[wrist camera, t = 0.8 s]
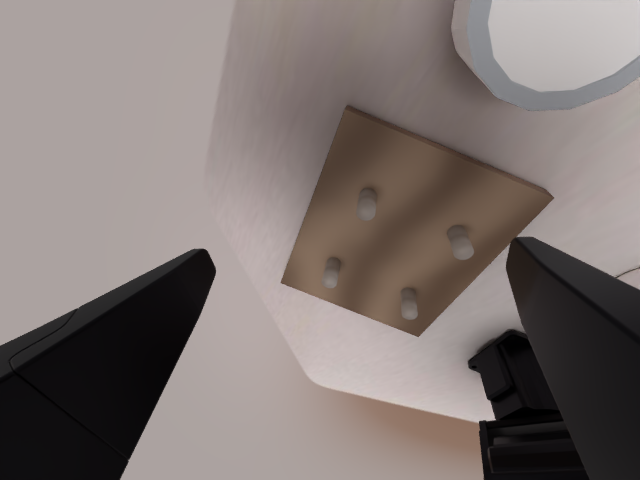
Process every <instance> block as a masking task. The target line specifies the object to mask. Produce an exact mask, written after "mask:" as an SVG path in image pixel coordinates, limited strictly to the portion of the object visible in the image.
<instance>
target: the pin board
mask: <svg viewBox="0 0 640 480" xmlns="http://www.w3.org/2000/svg"><path fill="white" fill-rule="evenodd" d="M553 199H554V197H553V196H552V195H551V194H550V193H549V192H548V191H547V190H545V189H543V188H541V187H538V186H536V185H534V184H531V183H529V182H527V181H524V180H522V179H520V178H517V177H515V176H512V175H510V174H508V173H505V172H503V171H501V170H498V169H496V168H494V167H491V166H489V165H486V164H484V163H482V162H479V161H477V160H475V159H472V158H470V157H468V156H465V155H463V154H461V153H458V152H456V151H453V150H451V149H449V148H446V147H444V146H442V145H439V144H437V143H435V142H432V141H430V140H427V139H425V138H423V137H420V136H418V135H416V134H413V133H411V132H409V131H406V130H404V129H402V128H399V127H397V126H394V125H392V124H390V123H387V122H385V121H383V120H380V119H378V118H376V117H373V116H371V115H368V114H366V113H364V112H361V111H359V110H357V109H354V108H352V107H350V106H347V107H346V108H345V110H344V113H343V116H342V118H341V121H340V124H339V127H338V129H337V132H336V135H335V137H334V140H333V143H332V145H331V148H330V151H329V153H328V156H327V159H326V162H325V164H324V167H323V170H322V172H321V175H320V178H319V180H318V183H317V186H316V189H315V191H314V194H313V197H312V199H311V202H310V205H309V207H308V210H307V213H306V216H305V218H304V221H303V224H302V226H301V229H300V232H299V234H298V237H297V240H296V243H295V245H294V248H293V251H292V253H291V256H290V259H289V261H288V264H287V267H286V270H285V272H284V275H283V278H282V280H281V283H282V284H285V285H287V286H290V287H292V288H295V289H297V290H300V291H302V292H305V293H308V294H310V295H313V296H315V297H318V298H320V299H323V300H325V301H328V302H330V303H333V304H336V305H338V306H341V307H343V308H346V309H348V310H351V311H353V312H356V313H358V314H361V315H364V316H366V317H369V318H371V319H374V320H376V321H379V322H381V323H384V324H386V325H389V326H392V327H394V328H397V329H399V330H402V331H404V332H407V333H409V334H412V335H414V336H417V337H419V336H420V335H421V334H422V333H423V332H424V331H425V330H426V329H427V328H428V327H429V325H430V324H431V323H432V322H433V321H434V320H435V319H436V318H437V317H438V316H439V315H440V314H441V313H442V312H443V311H444V310H445V309H446V308H447V307H448V306H449V305H450V304H451V303H452V302H453V301H454V300H455V299H456V298H457V297H458V296H459V295H460V294H461V293H462V292H463V291H464V290H465V289H466V288H467V287H468V286H469V285H470V284H471V283H472V282H473V280H474V279H475V278H476V277H477V276H478V275H479V274H480V273H481V272H482V271H483V270H484V269H485V268H486V267H487V266H488V265H489V264H490V263H491V262H492V261H493V260H494V259H495V258H496V257H497V256H498V255H499V254H500V253H501V252H502V251H503V250H504V249H505V248H506V247H507V246H508V245H509V244H510V243H511V241H512V239H513V238H515V237H517V235H518V234H519V233H520V232H521V231H522V230H523V229H524V228H525V227H526V226H527V225H528V224H529V223H530V222H531V221H532V220H533V219H534V218H535V217H536V216H537V215H538V214H539V213H540V212H541V211H542V210H543V209H544V208H545V207H546V206H547V205H548V204H549V203H550V202H551V201H552V200H553Z"/></svg>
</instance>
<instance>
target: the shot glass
mask: <svg viewBox="0 0 640 480" xmlns="http://www.w3.org/2000/svg"><path fill="white" fill-rule="evenodd" d="M451 32H452V37H453V41H454V46H455V50H456V52H457V53H458V55H459V56H460V57H461V58H462V60H463V61H464V62H465V63H466V65H467V66H468V67H469V68H470V69H471V70H472V71H473V72H474V74H475V75H476V76H477V77H478V78H479V79H480V80H481V81H482V82H483V83H484V85H485V86H486V87H487V88H488V89H489V90H490V91H491V92H492V93H493V94H494V96H495V97H496V98H498V99H501V100H503V101H506V102H508V103H511V104H513V105H516V106H518V107H521V108H523V109H526V110H528V111H539V110H563V109H572V108H575V107H578V106H580V105H583V104H586V103H589V102H591V101H594V100H597V99H599V98H602V97H605V96H607V95H610V94H613V93H615V92H618V91H619V90H621V89H622V88H624V87H625V86H627V85H628V84H629V83H631V82H632V81H634V80H635V79H637V78H638V77H640V0H455V3H454V10H453V17H452V24H451Z"/></svg>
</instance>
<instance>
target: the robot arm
mask: <svg viewBox="0 0 640 480" xmlns="http://www.w3.org/2000/svg"><path fill="white" fill-rule="evenodd" d="M506 271H507V275H508V278H509V282H510V285H511V289H512V292H513V295H514V299H515V302H516V306H517V309H518V313H519V316H520V319H521V322H522V325H523V327H524V330H525V332H526V335H527V336H526V335H524V334H521V333H519V332H516V331H508V332H507V333H505V334H504V335H503V336H501V337H500V338H499V339H498V340H496V341H495V342H494V343H492V344H491V345H490V346H489V347H487V348H486V349H485V350H483V351H482V352H481V353H479V354H478V355H477V356H476V357H474V358H473V359H472V360H470V361H469V362H468V366H469V368H470V369H471V370H474V371H476V372H479V373H480V375H481V379H482V382H483V386H484V390H485V393H486V397H487V399H488V400H490V401H491V405H492V408H493V412H494V415H495V419H496V420H494V421H486V420H483V421H479V426H480V431H479V436H480V445H481V454H482V463H483V473H484V480H640V290H639V289H637V288H635V287H633V286H631V285H629V284H627V283H625V282H623V281H621V280H619V279H617V278H615V277H613V276H611V275H609V274H607V273H605V272H603V271H601V270H599V269H597V268H595V267H593V266H591V265H589V264H587V263H585V262H582V261H580V260H578V259H576V258H574V257H572V256H570V255H568V254H566V253H564V252H562V251H560V250H558V249H556V248H554V247H552V246H550V245H548V244H546V243H544V242H542V241H540V240H538V239H536V238H534V237H515V238H513V239H512V241H511V244H510V248H509V253H508V257H507V262H506ZM215 274H216V268H215V266H214V263H213V261H212V259H211V257H210V255H209V253H208V251H207V250H205V249H193V250H190V251H188V252H186V253H184V254H182V255H180V256H178V257H176V258H175V259H172V260H171V261H169V262H167V263H165V264H163V265H161V266H159V267H157V268H155V269H153V270H151V271H149V272H147V273H145V274H143V275H141V276H139V277H137V278H135V279H133V280H131V281H129V282H128V283H126V284H124V285H122V286H120V287H118V288H116V289H114V290H112V291H110V292H108V293H106V294H104V295H102V296H100V297H98V298H96V299H94V300H92V301H90V302H88V303H86V304H84V305H82V306H81V307H79V309H78V308H77V309H75V310H73V311H71V312H69V313H67V314H65V315H63V316H61V317H59V318H57V319H55V320H53V321H51V322H49V323H47V324H45V325H43V326H41V327H39V328H37V329H34V330H32V331H30V332H28V333H26V334H24V335H22V336H20V337H18V338H16V339H14V340H11V341H9V342H7V343H5V344H3V345H1V346H0V480H120V478H121V476H122V474H123V472H124V470H125V468H126V466H127V464H128V462H129V461H128V460H129V459H130V457H131V455H132V453H133V451H134V449H135V447H136V445H137V443H138V441H139V439H140V437H141V435H142V433H143V431H144V429H145V427H146V425H147V423H148V421H149V419H150V417H151V415H152V412H153V410H154V408H155V406H156V404H157V402H158V400H159V398H160V396H161V394H162V392H163V390H164V388H165V386H166V384H167V382H168V380H169V378H170V376H171V374H172V372H173V370H174V368H175V366H176V363H177V361H178V359H179V357H180V355H181V353H182V351H183V349H184V347H185V345H186V343H187V341H188V339H189V337H190V335H191V333H192V331H193V329H194V327H195V325H196V323H197V321H198V319H199V316H200V314H201V312H202V309H203V306H204V304H205V302H206V299H207V296H208V294H209V291H210V288H211V285H212V283H213V280H214V277H215Z"/></svg>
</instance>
